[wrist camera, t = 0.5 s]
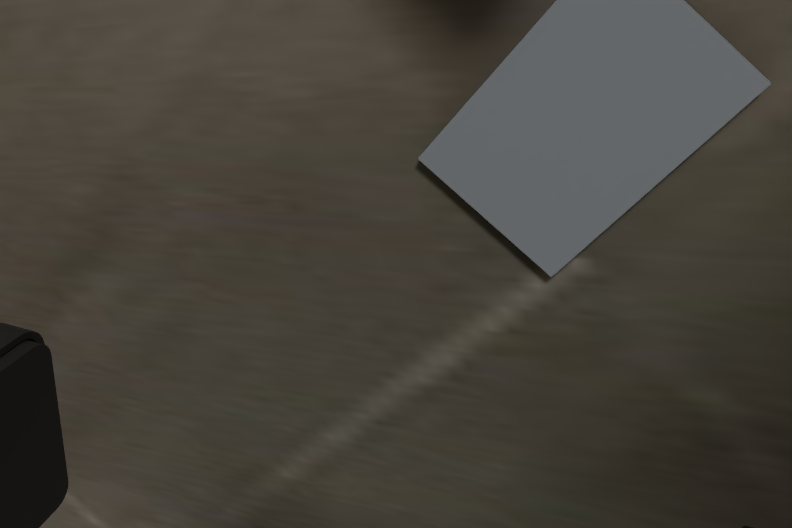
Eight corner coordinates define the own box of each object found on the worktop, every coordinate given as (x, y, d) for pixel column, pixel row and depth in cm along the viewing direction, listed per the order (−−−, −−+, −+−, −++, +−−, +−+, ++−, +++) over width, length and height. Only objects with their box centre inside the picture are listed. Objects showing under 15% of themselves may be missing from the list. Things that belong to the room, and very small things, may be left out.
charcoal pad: (614, -66, 30) (613, -66, 30) (768, 79, 31) (771, 83, 30) (421, 153, 37) (417, 158, 36) (552, 270, 37) (551, 277, 37)
